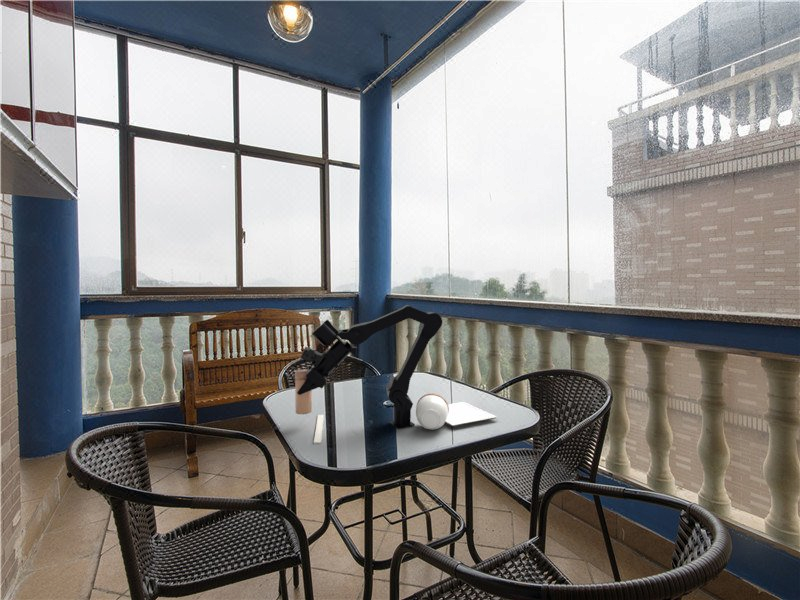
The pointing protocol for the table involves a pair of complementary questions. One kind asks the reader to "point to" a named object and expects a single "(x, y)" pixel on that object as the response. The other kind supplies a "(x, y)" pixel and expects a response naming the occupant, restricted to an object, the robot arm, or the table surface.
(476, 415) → the plate
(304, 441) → the table surface
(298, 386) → the tumbler
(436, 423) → the white rounded piece
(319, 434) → the line
